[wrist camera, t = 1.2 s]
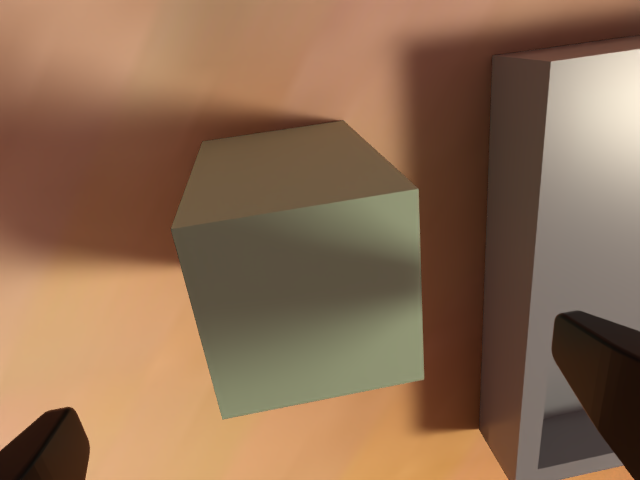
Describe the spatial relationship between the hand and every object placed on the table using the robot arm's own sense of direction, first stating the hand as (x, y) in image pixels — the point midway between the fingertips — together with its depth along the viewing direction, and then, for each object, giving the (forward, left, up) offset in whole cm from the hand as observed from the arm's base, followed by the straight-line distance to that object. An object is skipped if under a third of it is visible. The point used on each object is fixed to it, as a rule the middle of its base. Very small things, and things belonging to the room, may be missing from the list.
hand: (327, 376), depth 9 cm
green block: (0, 0, -10) cm, 10 cm away
